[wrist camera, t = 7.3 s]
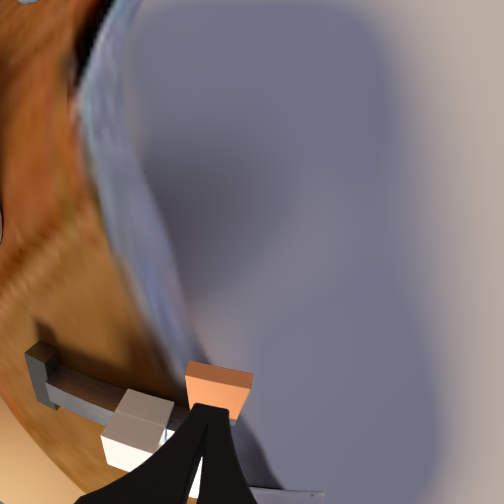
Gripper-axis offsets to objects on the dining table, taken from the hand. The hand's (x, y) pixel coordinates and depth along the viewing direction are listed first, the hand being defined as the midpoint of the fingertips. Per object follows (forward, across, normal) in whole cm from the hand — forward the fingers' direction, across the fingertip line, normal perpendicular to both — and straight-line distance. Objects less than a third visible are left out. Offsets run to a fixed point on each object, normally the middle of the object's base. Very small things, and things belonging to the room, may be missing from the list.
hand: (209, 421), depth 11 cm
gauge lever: (+5, 0, +2) cm, 5 cm away
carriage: (+9, +5, +10) cm, 15 cm away
